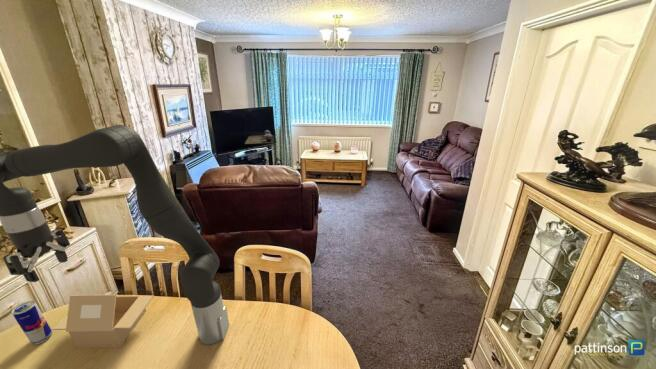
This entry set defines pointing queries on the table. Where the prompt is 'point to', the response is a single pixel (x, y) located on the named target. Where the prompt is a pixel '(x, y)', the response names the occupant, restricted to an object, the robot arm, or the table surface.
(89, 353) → the table surface
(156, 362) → the table surface
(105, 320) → the lid flap
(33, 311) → the beverage can
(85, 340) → the carton
